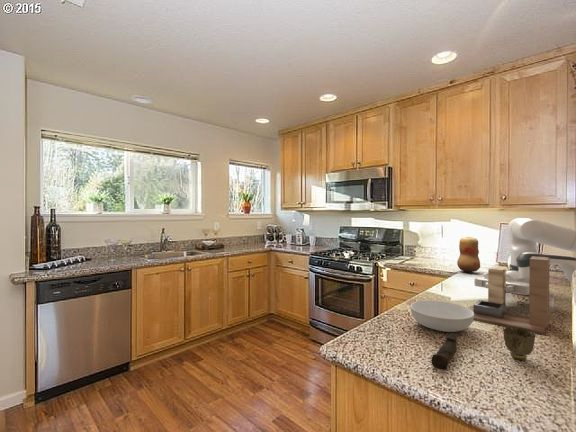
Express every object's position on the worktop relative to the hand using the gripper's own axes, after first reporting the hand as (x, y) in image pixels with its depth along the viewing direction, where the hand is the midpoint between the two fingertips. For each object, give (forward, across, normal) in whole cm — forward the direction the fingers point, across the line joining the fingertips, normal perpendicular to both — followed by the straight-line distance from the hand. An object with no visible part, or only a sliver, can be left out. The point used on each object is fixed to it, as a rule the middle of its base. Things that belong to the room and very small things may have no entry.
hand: (496, 287), depth 128 cm
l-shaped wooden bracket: (+10, -5, -10) cm, 15 cm away
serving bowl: (+36, +8, -10) cm, 38 cm away
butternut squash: (-84, +38, -10) cm, 93 cm away
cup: (+44, -17, -10) cm, 48 cm away
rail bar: (-1, 0, -10) cm, 10 cm away
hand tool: (+58, -3, -10) cm, 59 cm away
